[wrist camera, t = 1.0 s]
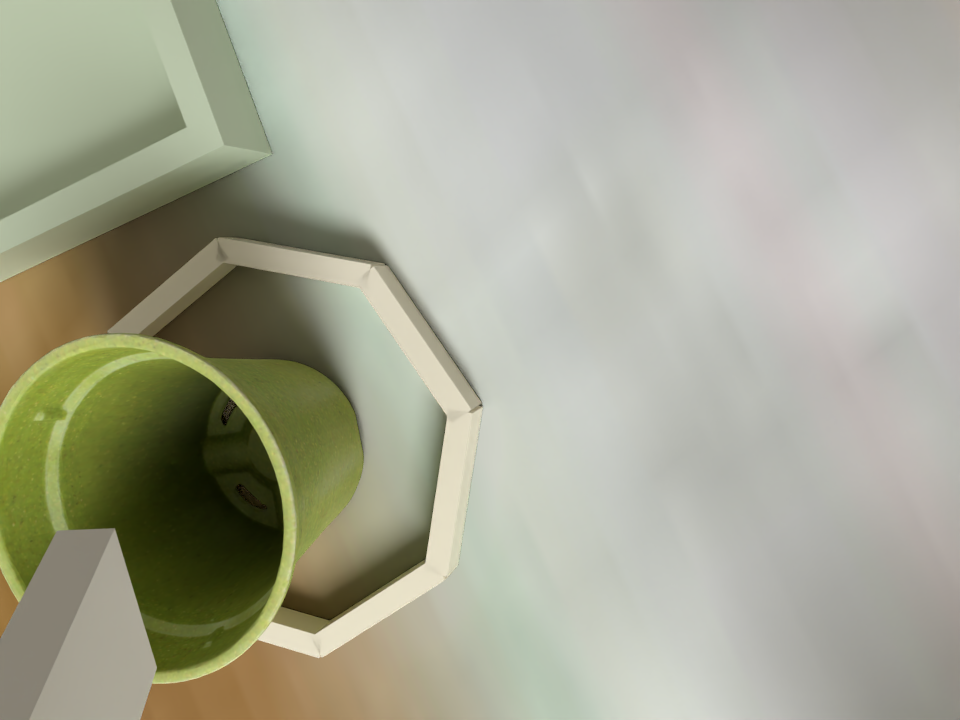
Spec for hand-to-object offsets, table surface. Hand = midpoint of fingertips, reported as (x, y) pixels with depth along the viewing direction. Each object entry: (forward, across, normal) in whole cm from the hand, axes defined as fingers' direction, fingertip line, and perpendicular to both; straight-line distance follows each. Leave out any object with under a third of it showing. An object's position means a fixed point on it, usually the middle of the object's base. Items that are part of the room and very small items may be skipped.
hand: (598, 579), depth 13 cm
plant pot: (+17, -8, -10) cm, 21 cm away
